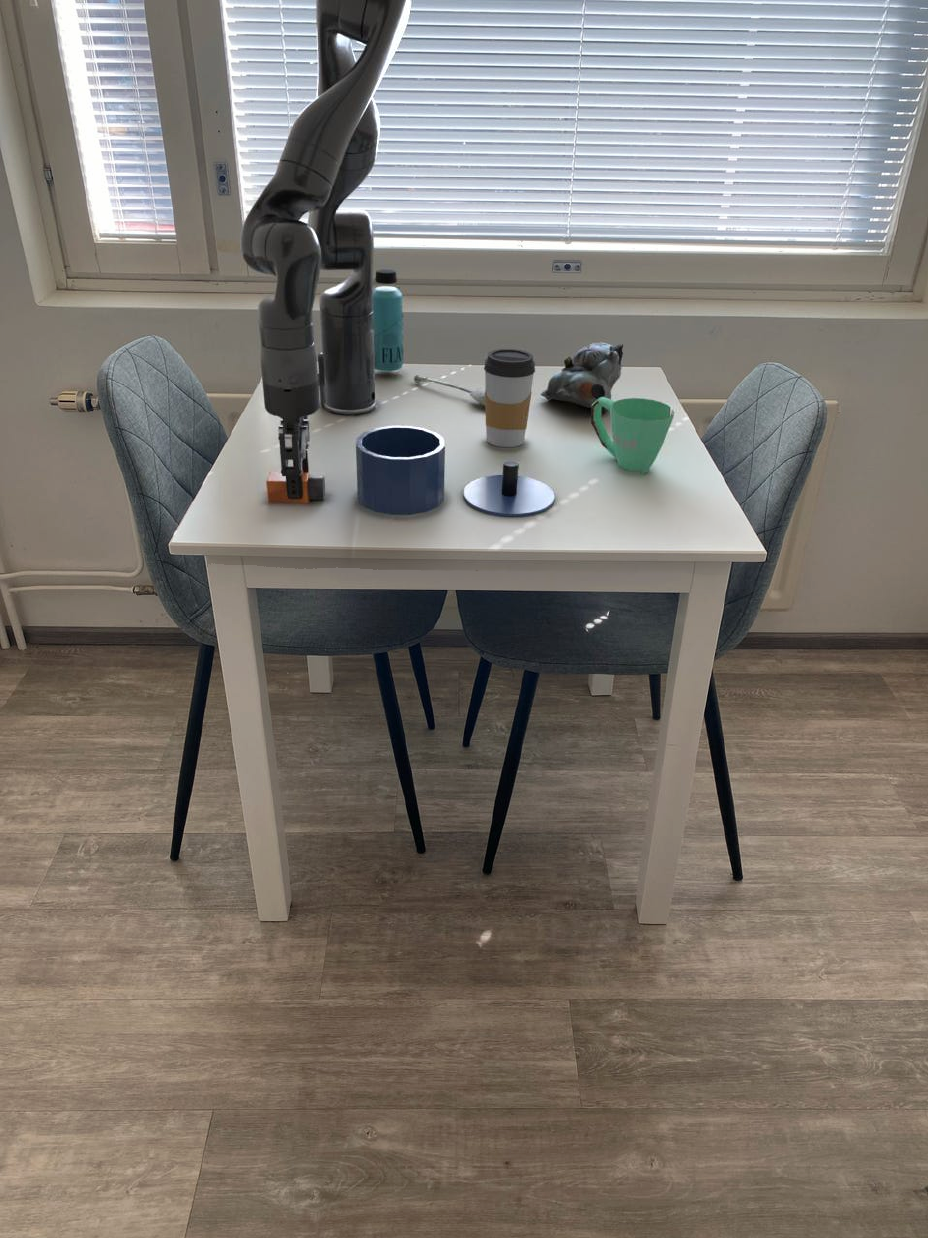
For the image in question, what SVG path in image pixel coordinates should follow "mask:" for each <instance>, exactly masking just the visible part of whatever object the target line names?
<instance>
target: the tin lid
mask: <svg viewBox="0 0 928 1238" xmlns="http://www.w3.org/2000/svg"><path fill="white" fill-rule="evenodd" d="M519 466H520V463H519V462H518V461H517V460H513V459H511V460H508V459H507V460H504V461H503V462H502V472H501V473H502V474H493V475H487V476H482V477H479V478H476V479H473V480H471V481H470V482H469V483H467V484H466V485H465V486H464V488H463V492H462V496H463V499H464V501H465V502H466V504H467V505H469V506H470V507H471V508H473V509H475V510H477V511H479V512H482V513H483V514H484V513H485V514H487V515H493V516H496V517H497V516H498V517H505V518H506V517H507V518H522V517H529V516H534V515H539V514H541V513H544V512H546V511H547V510H549V509H550V508H552V506H554V504H555V499H556V495H555V492H554V490H553V489H552V488H551V487H550V486H549V485H547V484H546V483H544V482H542V481H540V480H537V479H535V478H531V477H528V476H522V475H519V469H520V467H519Z"/></svg>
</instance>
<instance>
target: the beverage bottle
mask: <svg viewBox="0 0 928 1238" xmlns="http://www.w3.org/2000/svg"><path fill="white" fill-rule="evenodd" d="M374 281H375V283H377V284H382V285H383V286H378V287H375V288H374V289H373V322H374V361H375V370H377V371H381V372H393V371H394V372H395V371H399V370H401V369H402V368H403V365H404V344H403V342H404V334H403V330H404V328H403V326H404V321H403V318H404V315H403V314H404V313H403V312H404V311H403V309H404V306H403V293H402V292H401V291H400V290H399V289H398V288H397V287H394V286H386V285H392V284H396V283H397V282H398V277H397V271H396V270H395V269H391V268H380V269H376V270H375V279H374ZM384 285H385V286H384Z"/></svg>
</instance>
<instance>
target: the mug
mask: <svg viewBox="0 0 928 1238" xmlns="http://www.w3.org/2000/svg"><path fill="white" fill-rule="evenodd" d="M602 407H605V408H606V409H608V411H609V414H610V425H611V436H612V437H610V435H609V432H608V429H607V427H606V426H605V423H604V421H603V419H602V413H601V412H602ZM674 416H675V411H674V409H671V406H670V405H668V404H666V403H664V402H662V401H658V400H655V399H649V398H639V397H632V398H630V397H629V398H622V399H618V400H616V401H615V400H613V399H612V398H611V399H608V398H605V397H601V398H599V399H598V400H596V401H595V402H594V403H593V404H592V405H591V408H590V424H591V426H592V428H593V430H594V433H595V434H596V436H597V438H598V440H599V442H600V444H601V446H602V447H603V448H604V449H606V451H607V452H608V453H610V455H612V456H613V457H614V458H615V460H616V461H617V465H618V467H619V468H621V469H623V470H625V471H628V472H634V473H640V475H644V474H646V473H648V472H649V471H650V469H651V467H652V466H653V464H654V463H655V461H656V459H657V457H658V455H659V453H660V451H661V449H662V447H663V445H664V443H665V440H666V437H667V435H668V432H669V430H670V427H671V425H672V422H673V420H674ZM611 438H612V439H611Z"/></svg>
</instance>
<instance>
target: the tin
mask: <svg viewBox="0 0 928 1238" xmlns="http://www.w3.org/2000/svg"><path fill="white" fill-rule="evenodd" d="M355 457H356V485H357V486H356V487H357V500H358V504H359V506H361V505H362V506H363V507H364V508H367V509H368V510H370V511H373V512H375V513H381V514H385V515H390V516H411V515H412V516H413V515H417V514H422V513H427V512H429V511H432V510H434V509H437V508H439V506H440V505H441V504H442V503H443V502H444V500H445V472H446V471H445V469H446V468H445V467H446V466H445V465H446V463H445V462H446V442H445V438H444V437H442V435H440V434H439V433H438V432H436V431H433V430H430V429H427V428H424V427H417V426H412V425H387V426H383V427H376V428H373V429H370V430H366V431H364V432H363V433H362V434H360V435H358V437H357V438H356V441H355Z"/></svg>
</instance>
